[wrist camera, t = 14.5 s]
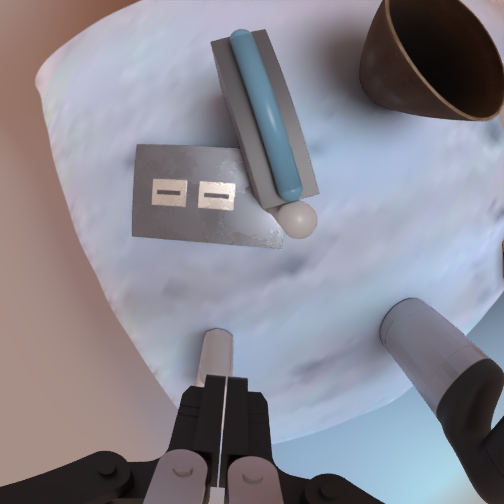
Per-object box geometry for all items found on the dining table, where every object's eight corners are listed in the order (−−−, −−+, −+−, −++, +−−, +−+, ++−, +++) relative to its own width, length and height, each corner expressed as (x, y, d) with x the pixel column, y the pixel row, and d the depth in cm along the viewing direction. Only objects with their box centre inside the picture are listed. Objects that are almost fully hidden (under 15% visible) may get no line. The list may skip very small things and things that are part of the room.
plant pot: (315, 103, 30) (371, 55, 15) (345, 18, 27) (395, -44, 11) (414, 154, 32) (500, 152, 17) (433, 70, 29) (505, 42, 13)
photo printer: (226, 385, 40) (223, 447, 28) (198, 381, 40) (188, 442, 28) (236, 330, 38) (235, 392, 26) (204, 325, 37) (192, 385, 25)
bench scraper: (294, 206, 32) (334, 231, 18) (260, 216, 32) (275, 249, 18) (256, 81, 28) (267, 19, 14) (221, 90, 28) (208, 32, 14)
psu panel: (290, 155, 32) (292, 154, 30) (280, 246, 35) (281, 249, 33) (140, 145, 31) (135, 144, 29) (135, 234, 34) (131, 236, 32)
